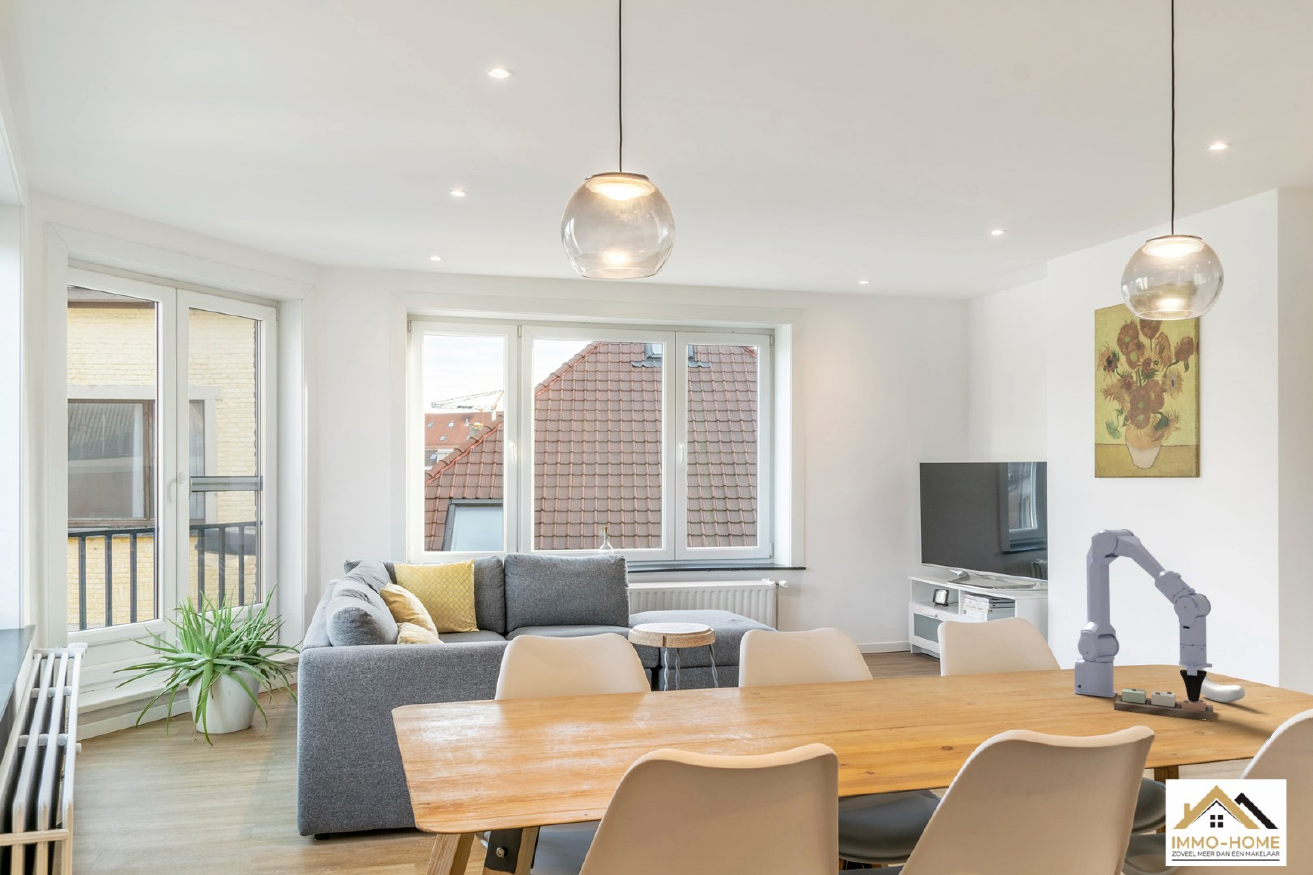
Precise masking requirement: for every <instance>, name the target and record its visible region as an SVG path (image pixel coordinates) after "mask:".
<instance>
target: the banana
mask: <svg viewBox="0 0 1313 875" xmlns="http://www.w3.org/2000/svg"><path fill="white" fill-rule="evenodd" d="M1199 670H1204V671H1205V668H1203V669H1199ZM1200 695H1203V696H1204V697H1205V698H1207V699H1209V700H1212V701H1213V700H1214V702H1217V701H1218V702H1219V703H1232V702H1236V701H1239V700H1242V699H1243V698H1244V697H1245V696H1246V690H1245V688H1243V687H1242V686H1240V685H1238V684H1234V685H1232V684H1231V685H1224V684H1223V685H1222V684H1219V683H1216V682H1214V681H1213V680H1212V679H1210V677H1209V676H1207V674H1206V677H1205V679H1204V680H1203V683H1202V686H1201V692H1200ZM1218 702H1217V703H1218Z"/></svg>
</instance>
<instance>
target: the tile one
mask: <svg viewBox="0 0 1313 875" xmlns="http://www.w3.org/2000/svg"><path fill="white" fill-rule="evenodd" d="M1121 695H1122V701H1127V702H1136V703H1145V701H1146V698H1147V690H1146V689H1140V688H1139V689H1137V688H1130V687H1123V689H1122V691H1121Z"/></svg>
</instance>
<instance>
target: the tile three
mask: <svg viewBox="0 0 1313 875" xmlns="http://www.w3.org/2000/svg"><path fill="white" fill-rule="evenodd" d="M1180 702H1181V709H1189V710H1198V711H1206V705H1207V704H1206V702H1207V701H1206V700H1204V699H1199V701H1198V702H1195V701H1189V700H1188V698H1182V700H1181V701H1180Z"/></svg>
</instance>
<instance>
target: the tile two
mask: <svg viewBox="0 0 1313 875" xmlns="http://www.w3.org/2000/svg"><path fill="white" fill-rule="evenodd" d="M1150 698H1151V704H1153V705H1162V706H1170V707H1175V703H1176V698H1177V697H1176V693H1175V692H1172V691H1171V692H1170V691H1157V690H1153V691H1152V692H1151V694H1150Z"/></svg>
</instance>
